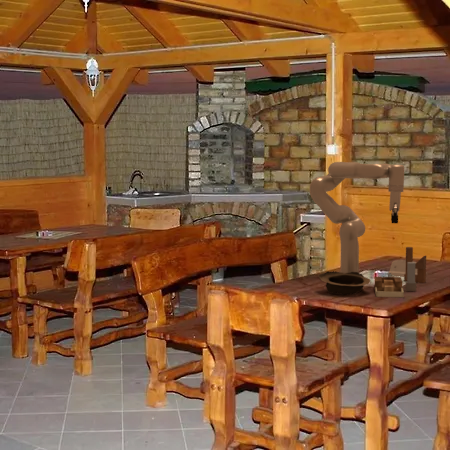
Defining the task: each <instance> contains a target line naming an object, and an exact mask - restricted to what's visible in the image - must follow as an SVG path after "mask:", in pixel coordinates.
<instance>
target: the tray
mask: <svg viewBox="0 0 450 450" xmlns="http://www.w3.org/2000/svg"><path fill="white" fill-rule="evenodd" d="M374 294H375V298H376V297H378V298H404V297H405V292H404V288H403V287H402V288H401V292H384V291H377V287H375V288H374Z"/></svg>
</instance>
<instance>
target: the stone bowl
mask: <svg viewBox="0 0 450 450" xmlns="http://www.w3.org/2000/svg"><path fill="white" fill-rule="evenodd" d="M318 278H319V279H320V280H321V282H325V288H326V291H327V292H328V293H329V294H332V295H333V294H338V295H341V296H346V295H348V296H350V295H356V294H357V293H359V292H361V291H362V290H363V288H364V286H366V285H370V283H371V279H370V278H367V277H365V276H364V275H363V274H362V273H361V272H359V273H358V272H351V273H350V272H349V273H340V271H335V270H333V271H325V272H323V273H320V274H318Z"/></svg>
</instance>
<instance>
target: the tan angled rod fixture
mask: <svg viewBox="0 0 450 450" xmlns="http://www.w3.org/2000/svg"><path fill="white" fill-rule="evenodd" d="M413 251H414V248H413V247H412V246H406V247H405V260H406V270H405V274H404V277H403V281H404V282H407V262H413V261H414V260H413V257H414V256H413V255H414V252H413ZM416 262H417V263H416V264H415V269H417V275H416V274H415V283H419V284H420V283H421V284H424V283H426V282H427V281H426V280H427V279H426V278H427V255H423V256H422V257H421V258H420V259H419V260H418V261H416Z"/></svg>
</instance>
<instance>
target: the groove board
mask: <svg viewBox="0 0 450 450" xmlns="http://www.w3.org/2000/svg"><path fill="white" fill-rule="evenodd" d="M384 280H393V287H394V288H393V292H401V288H403V280H402V277H399V276H374V289H375V287H377V291H384Z"/></svg>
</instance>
